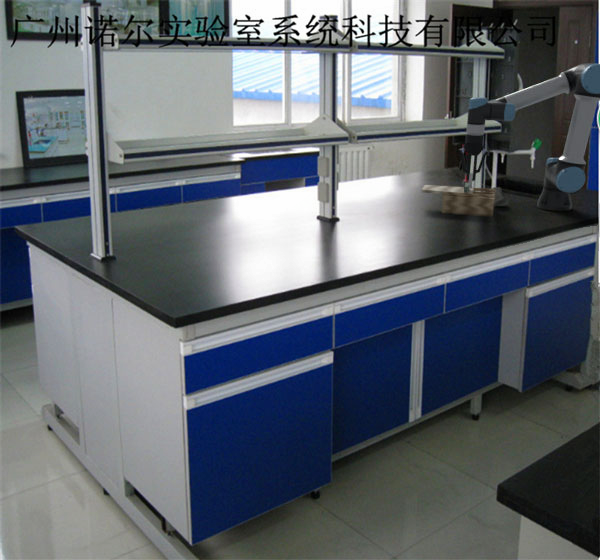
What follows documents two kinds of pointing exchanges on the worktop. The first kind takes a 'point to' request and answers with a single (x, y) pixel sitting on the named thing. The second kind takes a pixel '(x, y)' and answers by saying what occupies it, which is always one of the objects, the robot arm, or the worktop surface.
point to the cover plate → (446, 189)
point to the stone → (499, 197)
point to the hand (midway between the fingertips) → (469, 187)
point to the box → (469, 202)
